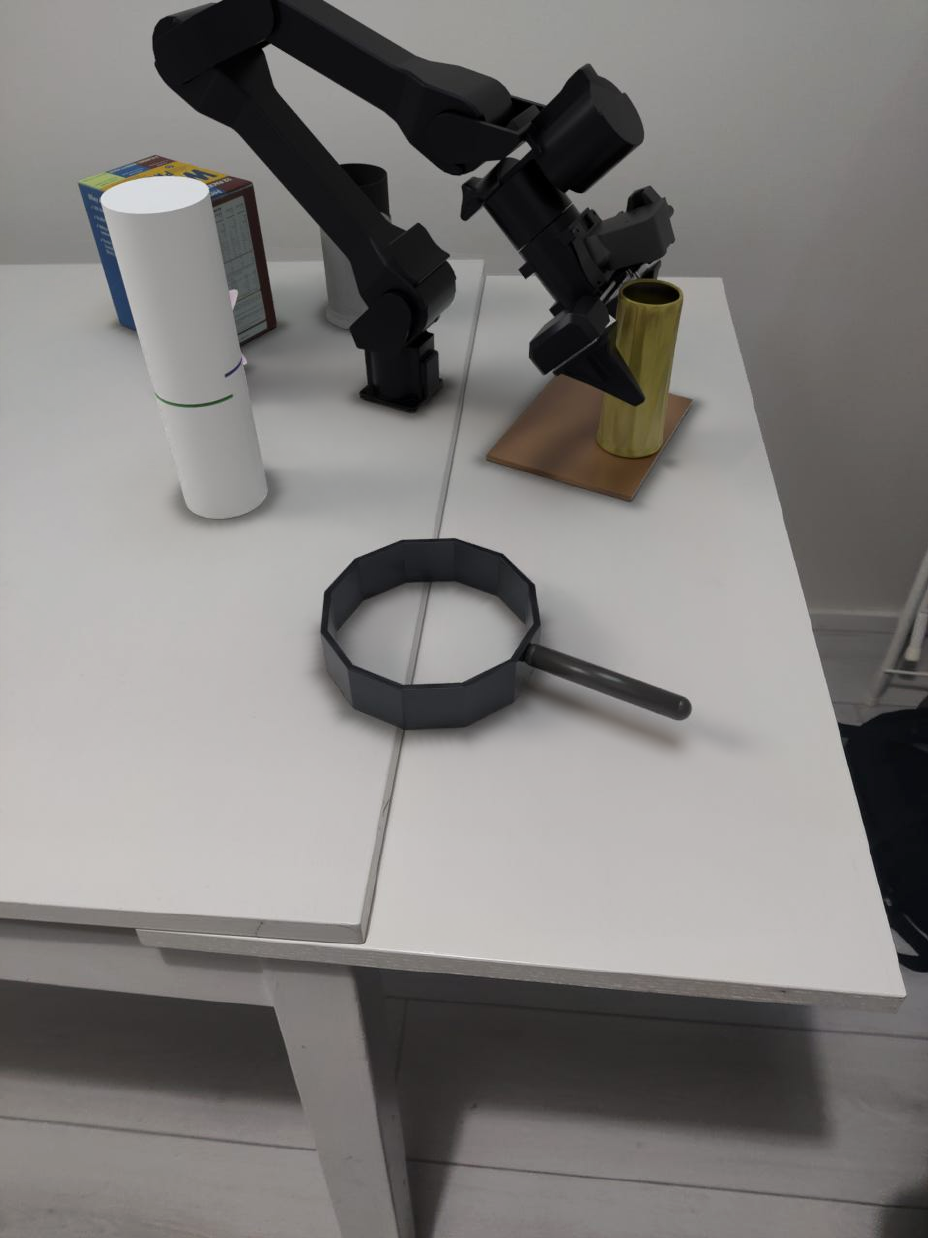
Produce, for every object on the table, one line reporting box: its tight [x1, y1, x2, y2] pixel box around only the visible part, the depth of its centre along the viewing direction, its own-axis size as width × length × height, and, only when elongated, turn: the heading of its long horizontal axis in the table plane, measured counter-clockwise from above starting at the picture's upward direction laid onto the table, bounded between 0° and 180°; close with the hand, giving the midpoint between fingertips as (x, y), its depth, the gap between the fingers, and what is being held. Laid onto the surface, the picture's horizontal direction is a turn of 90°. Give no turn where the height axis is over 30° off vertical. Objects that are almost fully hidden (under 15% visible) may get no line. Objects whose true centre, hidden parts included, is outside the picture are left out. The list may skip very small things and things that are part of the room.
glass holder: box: [319, 162, 393, 330], centre depth 98 cm, size 9×14×15 cm, turn 24°
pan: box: [319, 537, 693, 730], centre depth 60 cm, size 26×15×4 cm, turn 63°
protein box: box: [76, 154, 278, 346], centre depth 94 cm, size 10×15×16 cm
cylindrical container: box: [100, 176, 269, 520], centre depth 68 cm, size 7×7×25 cm
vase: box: [596, 278, 684, 458], centre depth 76 cm, size 6×6×14 cm
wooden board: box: [485, 374, 694, 502], centre depth 83 cm, size 14×18×1 cm
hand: (656, 377), depth 76 cm, fingers open, 9 cm apart
